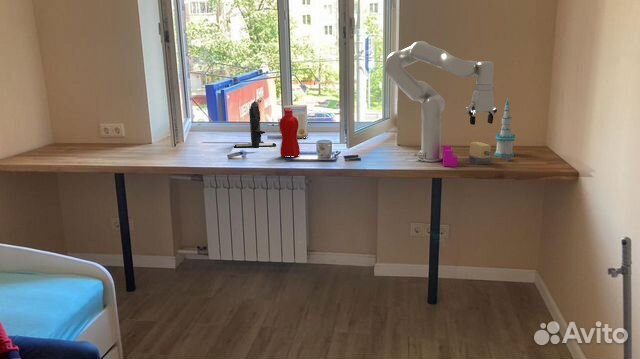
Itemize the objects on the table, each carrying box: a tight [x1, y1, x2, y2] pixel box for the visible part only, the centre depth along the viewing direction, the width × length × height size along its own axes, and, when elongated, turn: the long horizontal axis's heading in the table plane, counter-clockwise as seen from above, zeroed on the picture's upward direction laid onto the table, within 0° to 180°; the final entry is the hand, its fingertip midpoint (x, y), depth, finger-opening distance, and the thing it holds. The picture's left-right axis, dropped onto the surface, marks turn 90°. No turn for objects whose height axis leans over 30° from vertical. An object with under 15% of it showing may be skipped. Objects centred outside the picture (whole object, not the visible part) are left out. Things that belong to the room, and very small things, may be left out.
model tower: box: [493, 97, 516, 157], centre depth 276 cm, size 10×10×30 cm
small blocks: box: [468, 153, 512, 166], centre depth 265 cm, size 20×6×3 cm, turn 107°
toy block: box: [441, 144, 459, 168], centre depth 263 cm, size 15×6×8 cm, turn 170°
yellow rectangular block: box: [469, 141, 492, 158], centre depth 262 cm, size 5×12×6 cm, turn 18°
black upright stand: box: [233, 98, 277, 152], centre depth 314 cm, size 32×25×28 cm
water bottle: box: [279, 110, 301, 158], centre depth 286 cm, size 9×11×25 cm
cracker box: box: [283, 104, 309, 138], centre depth 339 cm, size 14×6×21 cm, turn 82°
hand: (481, 123), depth 259 cm, fingers open, 9 cm apart
